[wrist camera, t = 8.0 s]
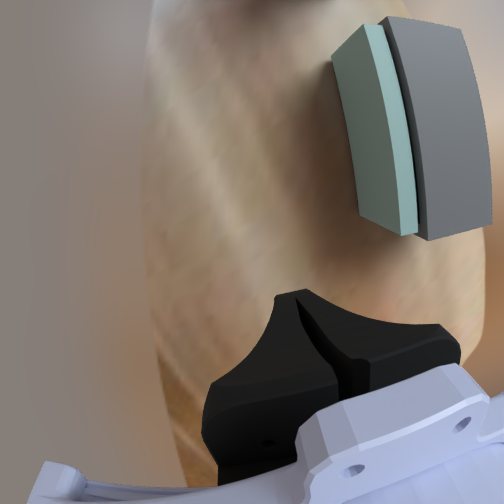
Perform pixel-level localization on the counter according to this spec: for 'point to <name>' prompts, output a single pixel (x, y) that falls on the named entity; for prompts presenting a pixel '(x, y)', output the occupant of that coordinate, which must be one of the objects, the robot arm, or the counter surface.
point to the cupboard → (442, 126)
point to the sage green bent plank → (377, 130)
